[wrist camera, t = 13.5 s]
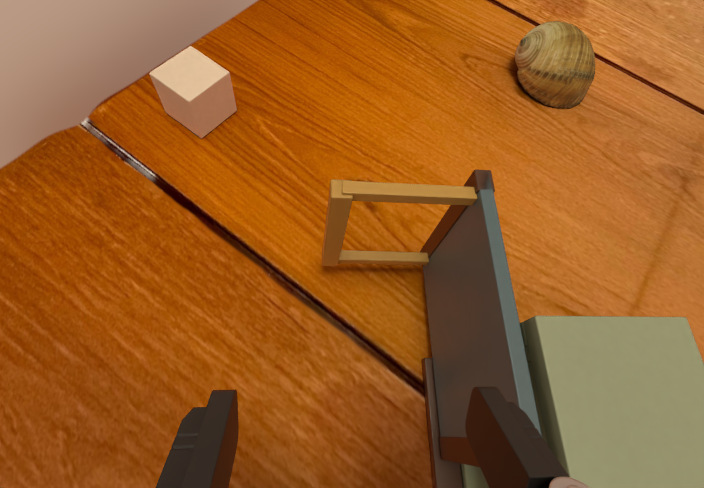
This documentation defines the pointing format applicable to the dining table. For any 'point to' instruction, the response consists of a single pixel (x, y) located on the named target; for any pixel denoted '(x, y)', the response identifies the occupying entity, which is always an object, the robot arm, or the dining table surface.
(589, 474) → the cabinet
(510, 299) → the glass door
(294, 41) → the dining table surface
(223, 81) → the block
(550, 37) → the seashell
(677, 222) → the dining table surface
